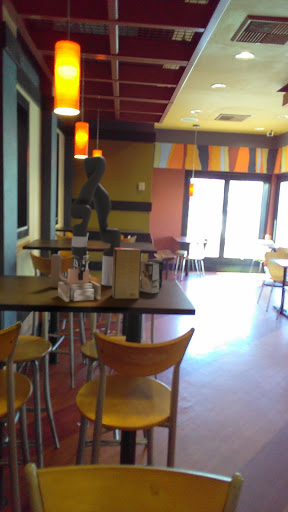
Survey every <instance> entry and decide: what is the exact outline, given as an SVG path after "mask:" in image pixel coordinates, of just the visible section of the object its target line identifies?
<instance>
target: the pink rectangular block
mask: <svg viewBox="0 0 288 512" xmlns="http://www.w3.org/2000/svg"><path fill="white" fill-rule="evenodd" d="M78 273H79V272H78V269H73V268H68V269H67V279H68V285H71V284H89V281H90V268H85V272H84V273H83V280H78ZM68 285H67V286H68Z"/></svg>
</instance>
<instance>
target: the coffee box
mask: <svg viewBox="0 0 288 512" xmlns="http://www.w3.org/2000/svg"><path fill="white" fill-rule="evenodd" d="M159 277H160V264H158V263H152V262H147V261H144V262H141V266H140V286H139V292H143V293H148V294H157V293H159V291H160V287H159Z"/></svg>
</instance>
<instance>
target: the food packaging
mask: <svg viewBox="0 0 288 512" xmlns="http://www.w3.org/2000/svg"><path fill="white" fill-rule="evenodd" d="M141 260H142V250H141V249H140V248H138V247H137V248H135V247H134V248H133V247H130V248H129V247H120V248H114V251H113V274H112V286H111V296H112V299H114V300H121V299H122V300H128V299H129V300H139V299H140V285H141V263H142V261H141Z"/></svg>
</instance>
